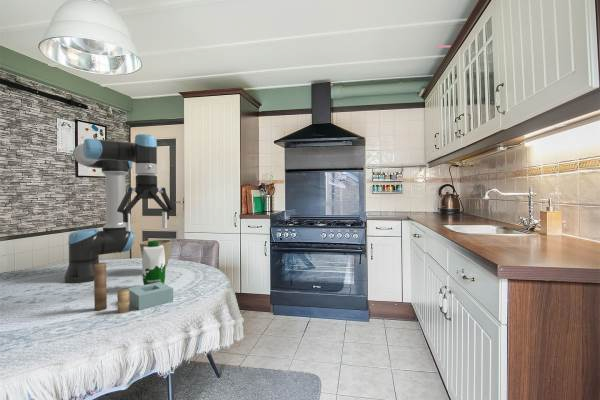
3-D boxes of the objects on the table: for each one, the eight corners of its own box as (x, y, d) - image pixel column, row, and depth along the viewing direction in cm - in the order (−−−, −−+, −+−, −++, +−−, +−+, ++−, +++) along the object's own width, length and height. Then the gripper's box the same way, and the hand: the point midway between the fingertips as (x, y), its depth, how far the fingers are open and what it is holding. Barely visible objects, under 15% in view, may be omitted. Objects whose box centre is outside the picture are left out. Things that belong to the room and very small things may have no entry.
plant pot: (162, 267, 168) (161, 238, 167) (178, 271, 159) (177, 241, 159) (134, 273, 156) (133, 242, 155) (149, 278, 147) (149, 245, 146)
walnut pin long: (93, 309, 108) (92, 264, 108) (105, 306, 111) (104, 262, 110) (96, 311, 106) (95, 265, 105) (108, 308, 108) (107, 263, 108)
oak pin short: (116, 311, 106) (115, 291, 106) (127, 308, 109) (127, 288, 109) (119, 314, 104) (119, 293, 104) (131, 311, 106) (130, 291, 106)
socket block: (127, 301, 115) (127, 288, 115) (160, 294, 124) (160, 281, 124) (139, 310, 107) (138, 295, 107) (173, 301, 116) (173, 288, 116)
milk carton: (164, 284, 137) (164, 239, 137) (166, 290, 129) (165, 242, 129) (142, 287, 133) (141, 241, 133) (142, 293, 125) (141, 244, 125)
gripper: (113, 173, 108) (114, 233, 108) (181, 175, 126) (182, 227, 126) (106, 174, 113) (108, 231, 113) (173, 176, 131) (174, 226, 131)
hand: (147, 229), depth 120 cm, fingers open, 13 cm apart
